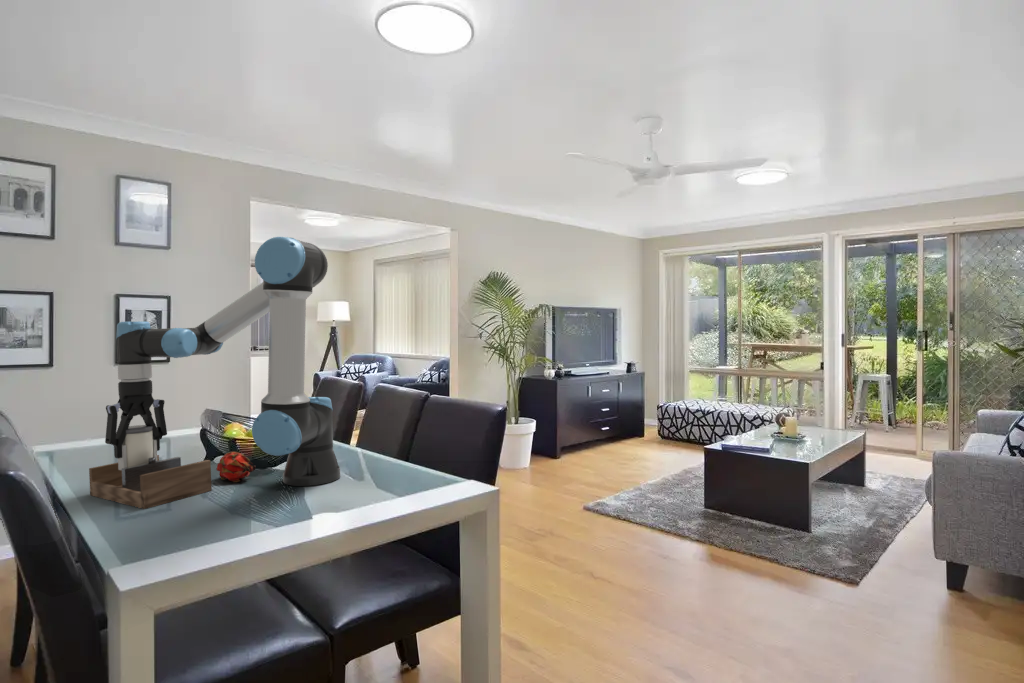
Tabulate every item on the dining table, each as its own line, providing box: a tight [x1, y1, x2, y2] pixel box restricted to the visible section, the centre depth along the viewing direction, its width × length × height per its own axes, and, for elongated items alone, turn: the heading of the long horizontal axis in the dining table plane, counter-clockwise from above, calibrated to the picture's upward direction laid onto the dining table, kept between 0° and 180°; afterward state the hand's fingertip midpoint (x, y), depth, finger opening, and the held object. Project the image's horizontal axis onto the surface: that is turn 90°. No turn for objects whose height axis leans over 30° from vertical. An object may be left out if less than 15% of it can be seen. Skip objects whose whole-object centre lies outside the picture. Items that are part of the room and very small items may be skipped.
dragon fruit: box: [215, 451, 256, 483], centre depth 165 cm, size 8×8×12 cm
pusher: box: [122, 456, 182, 492], centre depth 153 cm, size 2×14×8 cm, turn 150°
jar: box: [123, 424, 153, 467], centre depth 156 cm, size 7×7×12 cm
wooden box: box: [88, 454, 212, 510], centre depth 153 cm, size 25×17×8 cm
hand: (138, 466), depth 156 cm, fingers closed on jar, 7 cm apart
